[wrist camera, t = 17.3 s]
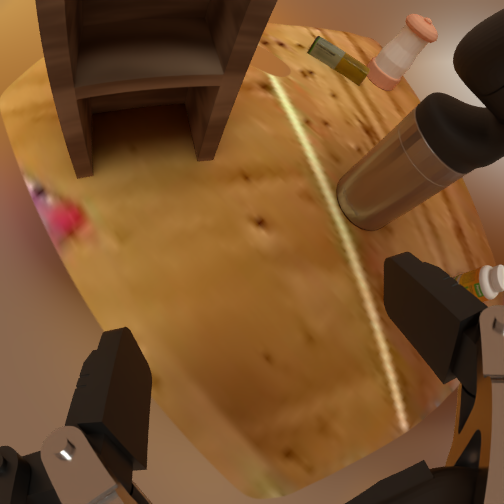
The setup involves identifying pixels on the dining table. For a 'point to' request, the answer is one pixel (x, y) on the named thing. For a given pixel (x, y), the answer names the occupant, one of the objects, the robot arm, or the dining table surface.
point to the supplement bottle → (483, 281)
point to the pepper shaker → (401, 52)
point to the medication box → (338, 60)
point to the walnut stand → (147, 62)
